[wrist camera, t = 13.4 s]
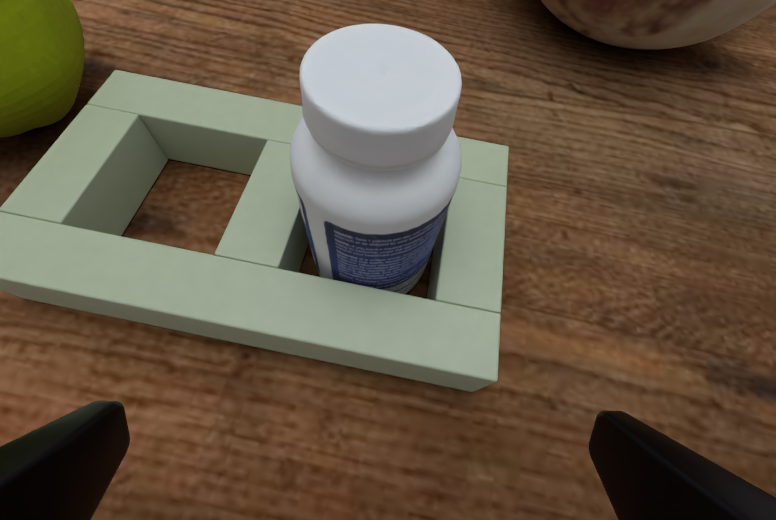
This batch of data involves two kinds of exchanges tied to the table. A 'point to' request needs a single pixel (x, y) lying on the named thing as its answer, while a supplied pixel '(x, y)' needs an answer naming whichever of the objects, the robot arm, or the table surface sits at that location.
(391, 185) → the pill bottle
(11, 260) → the frame
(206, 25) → the table surface
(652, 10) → the clay pot
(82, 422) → the robot arm
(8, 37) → the fruit
